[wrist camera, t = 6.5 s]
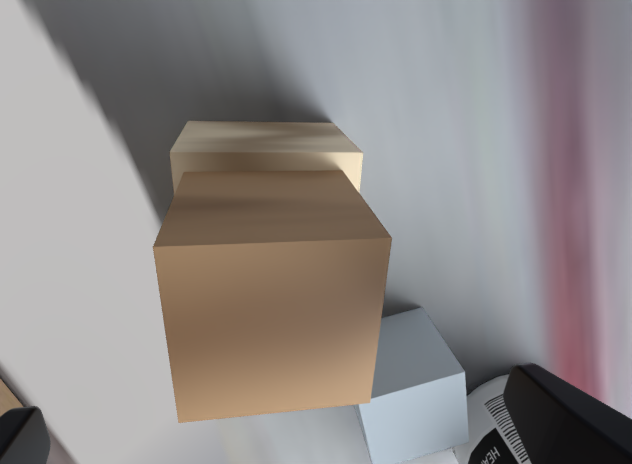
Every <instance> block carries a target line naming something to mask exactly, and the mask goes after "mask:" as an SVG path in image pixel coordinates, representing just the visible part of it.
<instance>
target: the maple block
mask: <svg viewBox="0 0 632 464" xmlns="http://www.w3.org/2000/svg"><path fill="white" fill-rule="evenodd" d="M169 153H170V162H171V171H172V180H173V190H174V194H175V192H176V190H177V187H178V185H179V182H180V180H181V177H182V175H183V173H184V172H219V171H322V170H343V172H344V173H345V174H346V176H347V177H348V179H349V180H350V181H351V183H352V184H353V185H354V187H355V188H356V189H357V191H358V192H359V190H360V180H361V169H362V159H363V152H362V151H361V150H360V149H359V148H358V147H357V146H356V145H355V144H354V143H353V142H352V141H351V140H350V139H349V138H348V137H347V136H346V135H345V134H344V133H343V132H342V131H341V130H340V129H339V128H338V127H337V126H336V125H335V124H334V123H311V122H240V121H187V123H186V125H185V127H184V128H183V130H182V132H181V133H180V135H179V137H178V138H177V140H176V142H175V144H174V145H173V147H172V149H171V150H170V152H169Z"/></svg>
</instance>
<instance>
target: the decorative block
mask: <svg viewBox="0 0 632 464" xmlns="http://www.w3.org/2000/svg"><path fill="white" fill-rule="evenodd" d="M18 407H23V406H22V404H21V403H20V402H19V401H18V400H17V398H16V397H15V396H14V395H13V393H12V392H11V391H10V390H9V389H8V387H7V386H6V385H5V384H4V383H3V381H2V380H1V379H0V416H1V415H3V414H4V413H5V412H7V411H8V410H10V409H12V408H18Z"/></svg>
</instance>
